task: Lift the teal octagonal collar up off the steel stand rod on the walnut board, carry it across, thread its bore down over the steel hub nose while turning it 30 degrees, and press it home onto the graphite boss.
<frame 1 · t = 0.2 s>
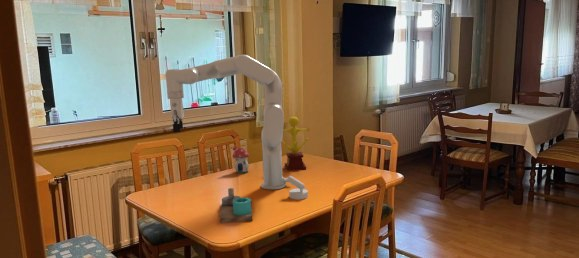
hand: (178, 130, 216), 31 cm above the table, fingers open, 9 cm apart
collar: (242, 211, 185), point 2 cm above the table, touching board
potted plant: (295, 167, 261), on the table
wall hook: (297, 196, 209), on the table
board: (236, 211, 191), on the table
decorative ornament: (241, 172, 255), on the table
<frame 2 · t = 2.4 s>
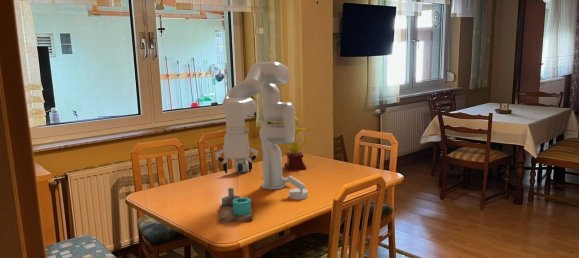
hand: (238, 172, 183), 19 cm above the table, fingers open, 9 cm apart
nothing on the table moved.
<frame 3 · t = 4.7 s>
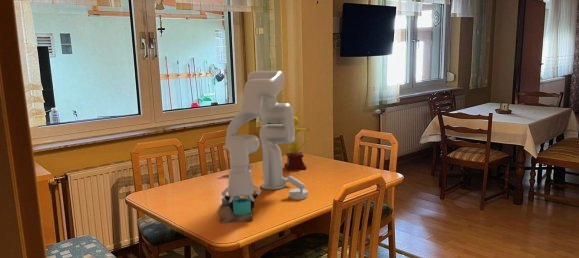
hand: (242, 209, 185), 3 cm above the table, fingers closed on collar, 7 cm apart
collar: (242, 211, 185), point 2 cm above the table, touching board, gripper
everything else where it was.
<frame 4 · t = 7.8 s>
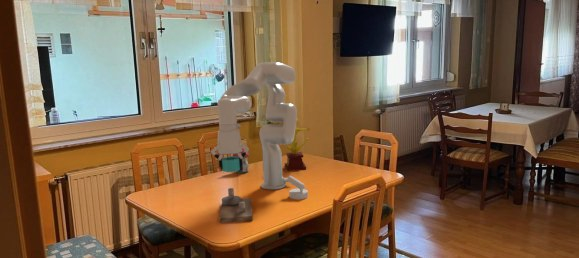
hand: (231, 167, 193), 18 cm above the table, fingers closed on collar, 7 cm apart
collar: (231, 169, 193), point 17 cm above the table, touching gripper
everything else where it was.
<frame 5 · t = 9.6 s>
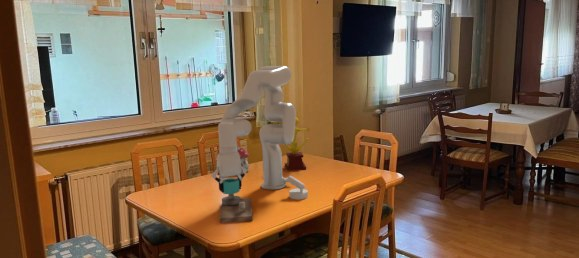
hand: (230, 189, 196), 8 cm above the table, fingers closed on collar, 7 cm apart
collar: (230, 191, 196), point 7 cm above the table, touching gripper
everything else where it was.
when the fingers open (5 cm above the table, at t = 11.0 s): collar stays where it is, resting on board.
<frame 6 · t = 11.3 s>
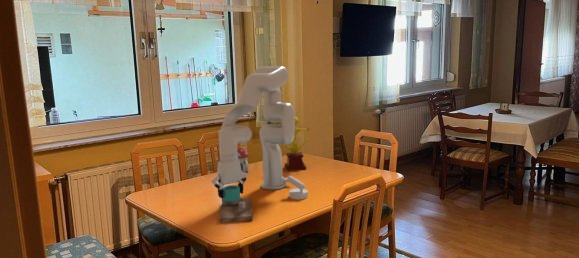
hand: (231, 195, 196), 6 cm above the table, fingers open, 9 cm apart
collar: (231, 198, 196), point 4 cm above the table, touching board
everything else where it was.
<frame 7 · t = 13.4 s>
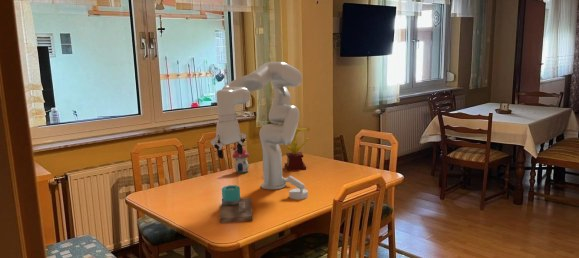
hand: (230, 155, 198), 22 cm above the table, fingers open, 9 cm apart
nothing on the table moved.
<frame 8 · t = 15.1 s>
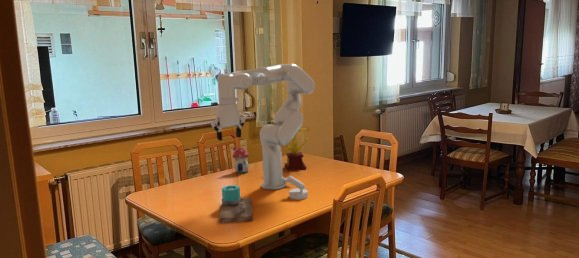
hand: (229, 138, 206), 28 cm above the table, fingers open, 9 cm apart
nothing on the table moved.
at the end: collar 0.1 cm from the target spot on the board, point 4.0 cm above the board's base; collar tilted 0°; the gripper is holding nothing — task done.
